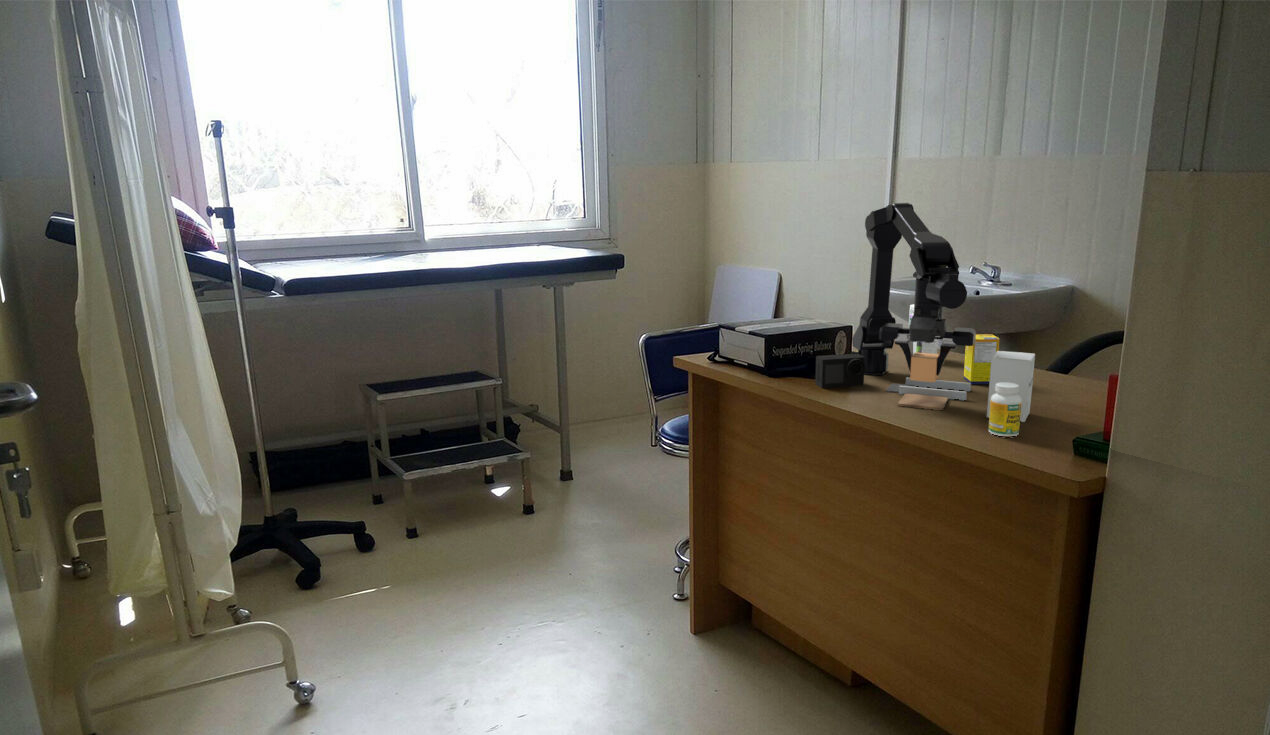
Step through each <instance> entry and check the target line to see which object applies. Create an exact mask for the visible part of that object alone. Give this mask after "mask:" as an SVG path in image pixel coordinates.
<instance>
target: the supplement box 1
mask: <svg viewBox="0 0 1270 735" xmlns="http://www.w3.org/2000/svg"><path fill="white" fill-rule="evenodd" d="M964 351H965V352H964V367H963V368H964V370H963V380H964V379H965V380H964V381H966V382H967V381H968V382H969V383H971V385H989V383H990V371H991V359H992V357H993V356H994V354H995V353H996V352H997V351H1000V338H999V337H998V336H995V335H994V334H992V333H991V334H990V333H989V334H988V333H984V334H983V333H982V334H981V333H979V334H978V333H976V339H975V343H974V344H973V346H965V350H964ZM968 382H967V383H968Z"/></svg>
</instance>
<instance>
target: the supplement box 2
mask: <svg viewBox="0 0 1270 735" xmlns="http://www.w3.org/2000/svg"><path fill="white" fill-rule="evenodd" d="M1035 359H1036V353H1033V352H1032V353H1030V352H1019V351H1004V350H999V351H997V352H996V353H995V354H994V356H993V357H992V359H991V371H990V383H989V384H988V386H989V387H988V394H987V395H988V398H987V408H986V409H987V410H986V418H988V419H989V416H990V401H991V397H992V395H993V394H995V393H997V392H996V391H995V386H996V383H1000V382H1009V383H1015V384H1018V385H1019V392H1018V393H1017V395H1018V396H1020V397H1021V399H1022V405H1021V417H1020V421H1021V422H1020V423H1025V422H1026V420H1027V418H1028V416H1029V415H1030V412H1031V402H1032V400H1031V399H1032V395H1033V394H1032V393H1033V381H1034V371H1035V361H1036V360H1035Z"/></svg>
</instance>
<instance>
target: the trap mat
mask: <svg viewBox="0 0 1270 735" xmlns="http://www.w3.org/2000/svg"><path fill="white" fill-rule="evenodd" d="M899 386H911V387H915V386H914V385H906V383H904V384H903V383H902V384H901V383H894V382H891V384H890V385H889V386H888V387H887V388H886V390H885V391H886V392H887V393H894V394H895V393H896V392H897V393H898V394H899ZM897 393H896V394H897Z"/></svg>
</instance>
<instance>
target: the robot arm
mask: <svg viewBox="0 0 1270 735" xmlns="http://www.w3.org/2000/svg"><path fill="white" fill-rule="evenodd" d="M864 227H865V231H866V238H867V240H868V242H869V244H870V246H871V248H872V250H871V264H870V277H869V288H868V292H869V293H868V302H867V303H868V305H867V307H866V309H865V310H864V312H863V313H862V314H861V316H860V319H859V325H858V326H857V328H856V330H855V332H854V334H853V336H852V339H851V341H852V347H853V348H855V349H857V350H858V352H857V354H859V355H861V356H863V357H865V366H866V370H865V373H864V375H874V376H883V375H884V374H885V373H886V372H887V371H888V369H889V353H887V349H888V350H889V349H891V350H892V349H893V347H894V344H895V345H897V346H899V347H900V348H901V350H902V352H903V354H904V356H905V360H906V363H907V367H908V370H909V373H911V357H912V356H913V342H917V341H920V342H926V343H932V342H934V340H935V339H938V340H942V344H940V350H939V354H940V355H939V360H938V365H937V375H938V376H939V375H940V373H941V371H942V368H943V365H944V364H945V361H946V360H947V357H948V355H949V353H950V351H951V349H952V350H954V349H957V347H958V346H962V347H966V346H973V344H974V343H975V339H976V334H977V331H976V329H974V328H973V327H958V326H956V327H955V328H954V329H953V331H951V330H947V321H946V320H947V319H946V318H944V317H943V315H944V314H943V313H944V308H945V309H951V310H953V309H958V308H959V307H961V306H962V305H963V304H964V303H965V301H966V299H967V296H968V291H967V288H966V286H965V284H964V283H963V282H962V281H960V280H959V276H960V275H959V274H960V270H959V268H960V265H959V263H958V260H957V258H956V255H955V253H954V249H953V247H952V245H951V243H950V242H949V241H948V240H947V239H946V238H944V237H943V236H942V235H938V234H935V233H933V232H932V231H930V230H929V229H928V227H927V226H926V225H925V223H924V222H923V220H921V218H920V216H918V214H917V213H916V211H915V210H914V206H913V204H912V203H909V202H895V203H890V204H888V205H887V206H885V207H881V208H880V209H877V210H872V211H871V212H870V213H869V214H867V216H866V217H865V223H864ZM902 238H903V239H904V240H905V242H906V243H907V244H908V246H909V247H910V253H909V255H908V256H909V259H910V261H911V263H912V265H913V268H914V269H915V271H914V272H913V273H912V277H913V278H915V287H914V289H915V290H914V301H913V303H914V315H913V317H912V320H911V324H910V329H909V327H908V328H906V327H904V326H903V323H896V322H897V321H896V318H895V317H893V314H892V313H891V312H890V309H889V308H890V307H889V306H890V297H891V296H890V295H891V294H890V293H891V285H892V284H891V283H892V272H893V262H894V261H893V260H894V251H895V248H896V247H897V246H898V244H899V242H900V241H901V240H902Z"/></svg>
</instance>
